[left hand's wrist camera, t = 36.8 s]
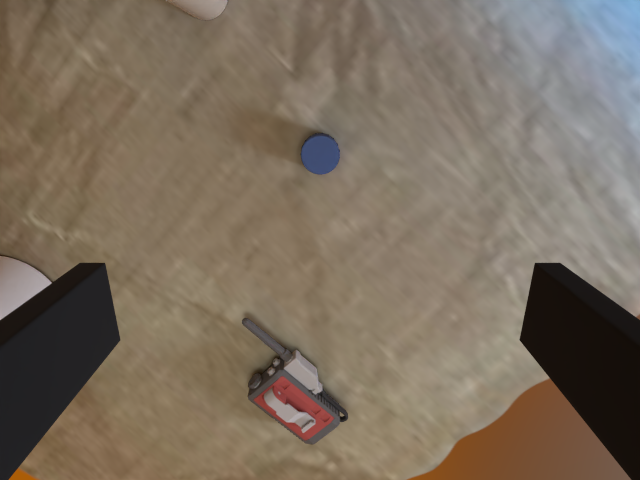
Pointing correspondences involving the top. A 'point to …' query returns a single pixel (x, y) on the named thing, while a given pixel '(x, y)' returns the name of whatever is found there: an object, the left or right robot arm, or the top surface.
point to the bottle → (201, 7)
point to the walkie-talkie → (293, 393)
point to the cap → (320, 153)
